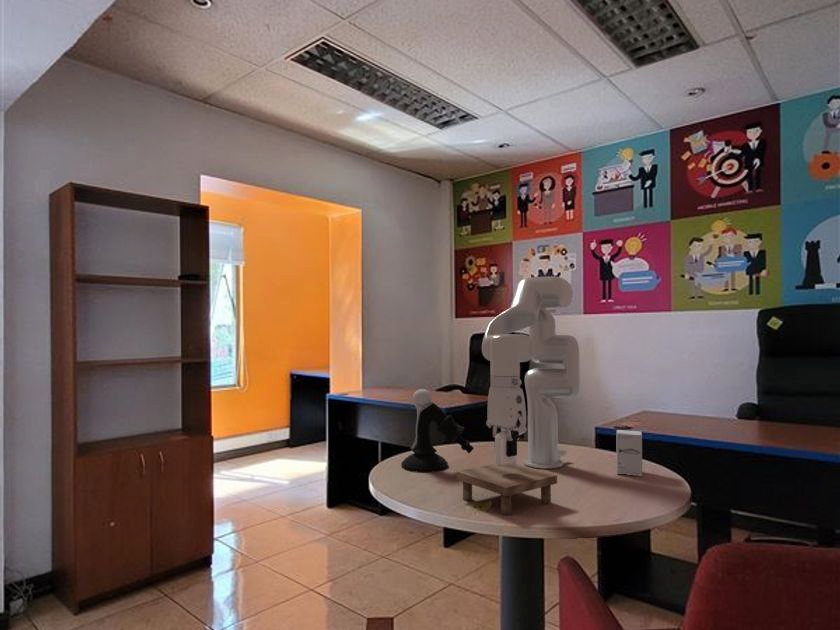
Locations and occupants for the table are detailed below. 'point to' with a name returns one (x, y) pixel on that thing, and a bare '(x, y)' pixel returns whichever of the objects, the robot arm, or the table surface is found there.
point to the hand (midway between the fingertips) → (505, 453)
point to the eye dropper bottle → (502, 449)
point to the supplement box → (629, 452)
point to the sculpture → (424, 450)
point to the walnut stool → (507, 482)
